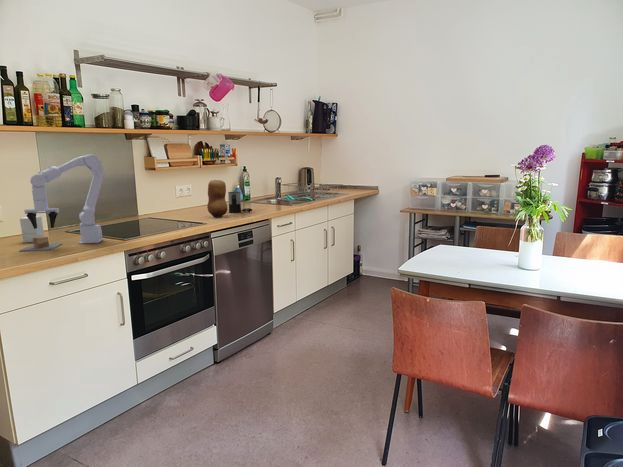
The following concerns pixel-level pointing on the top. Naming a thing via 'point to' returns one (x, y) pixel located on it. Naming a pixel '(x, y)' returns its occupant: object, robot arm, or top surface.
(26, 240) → the supplement box
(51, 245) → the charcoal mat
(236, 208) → the milk frother
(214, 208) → the butternut squash
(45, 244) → the oak cube
